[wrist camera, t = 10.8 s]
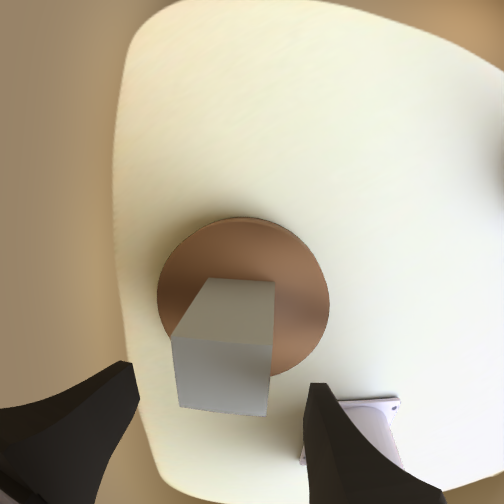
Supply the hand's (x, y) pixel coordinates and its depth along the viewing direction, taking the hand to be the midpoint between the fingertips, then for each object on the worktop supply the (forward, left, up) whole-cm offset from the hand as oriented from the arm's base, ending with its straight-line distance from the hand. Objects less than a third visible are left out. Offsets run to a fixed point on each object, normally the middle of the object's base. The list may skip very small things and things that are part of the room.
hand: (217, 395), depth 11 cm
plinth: (0, 0, -10) cm, 10 cm away
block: (0, 0, -8) cm, 8 cm away
